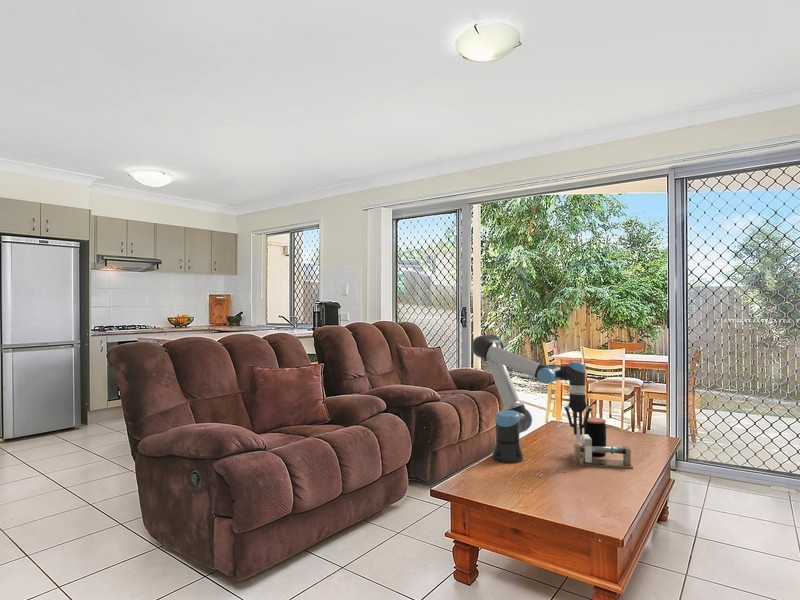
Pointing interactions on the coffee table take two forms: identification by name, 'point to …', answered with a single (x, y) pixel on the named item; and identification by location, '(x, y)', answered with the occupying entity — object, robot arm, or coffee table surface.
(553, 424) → the coffee table surface
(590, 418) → the coffee jar
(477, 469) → the coffee table surface
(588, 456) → the collar
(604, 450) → the rail
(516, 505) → the coffee table surface
